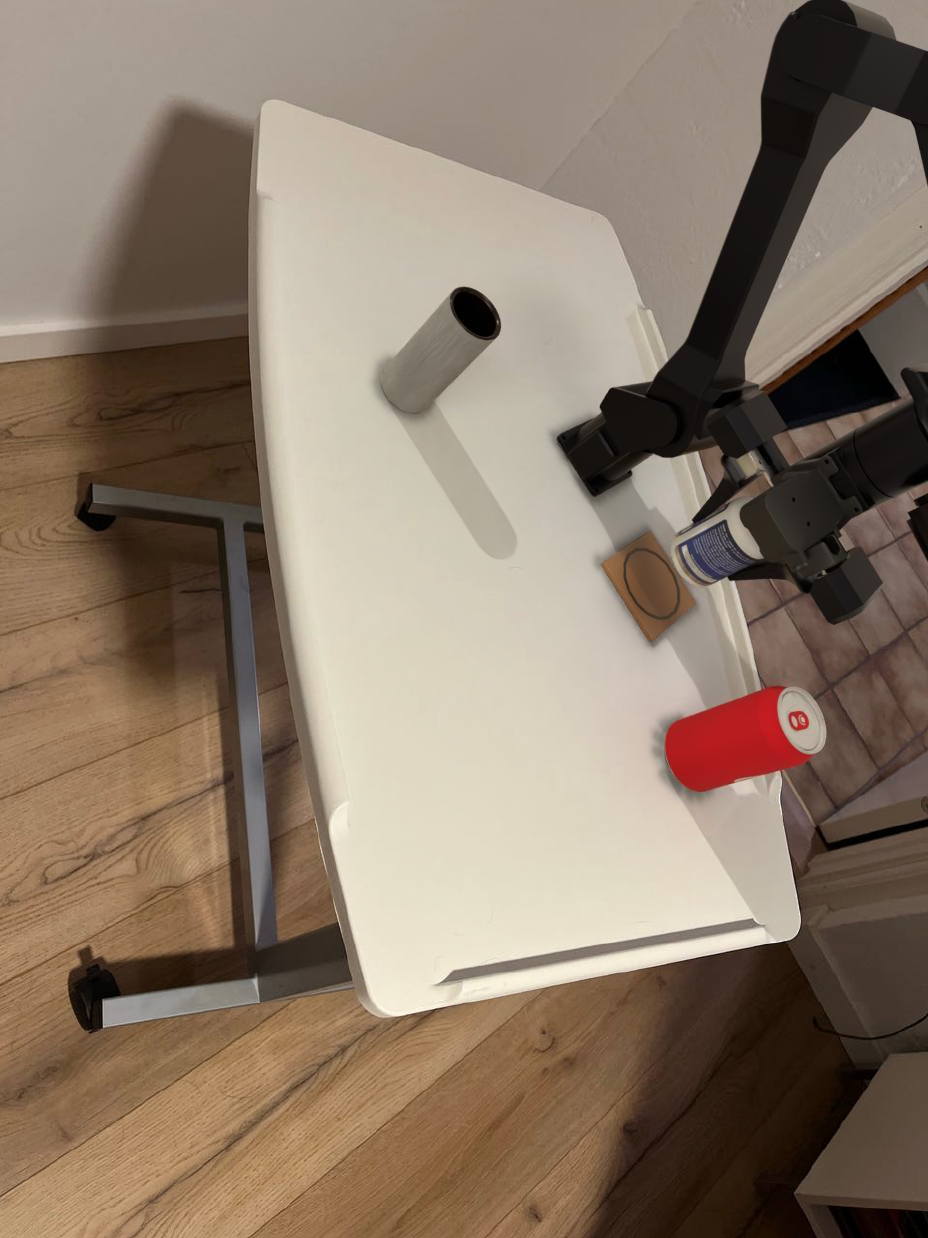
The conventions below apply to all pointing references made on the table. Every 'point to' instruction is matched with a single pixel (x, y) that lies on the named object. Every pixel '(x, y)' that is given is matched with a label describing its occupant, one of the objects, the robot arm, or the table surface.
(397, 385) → the grey hollow cylinder
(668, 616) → the square brown coaster
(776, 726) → the beverage can
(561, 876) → the table surface
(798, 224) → the robot arm
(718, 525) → the pill bottle
